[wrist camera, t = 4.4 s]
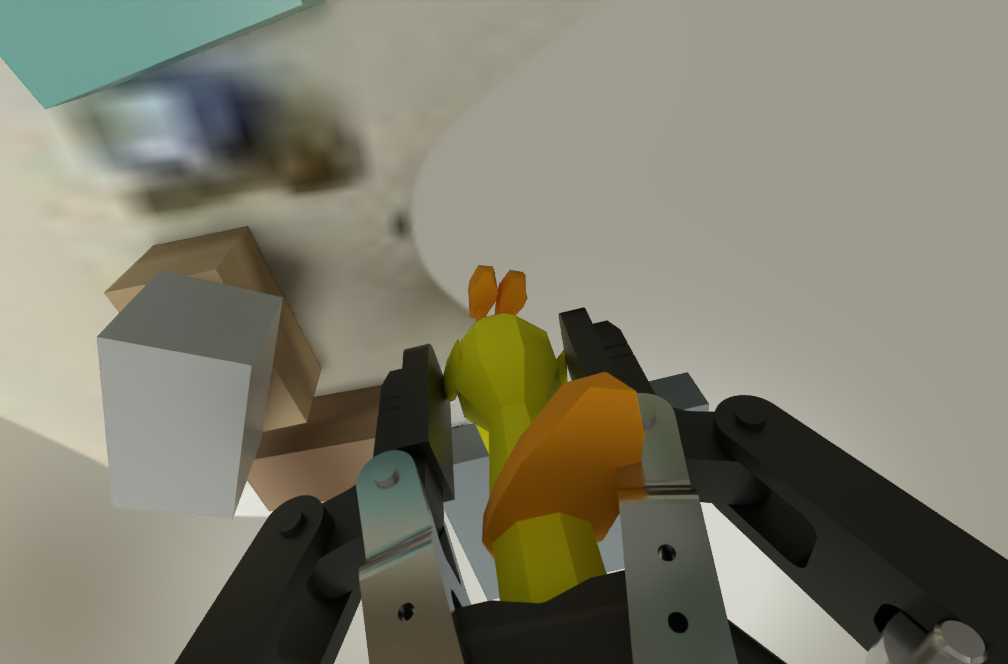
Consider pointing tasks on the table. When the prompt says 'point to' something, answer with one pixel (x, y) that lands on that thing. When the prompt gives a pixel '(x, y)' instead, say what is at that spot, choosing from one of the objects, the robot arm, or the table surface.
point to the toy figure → (540, 444)
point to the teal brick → (118, 38)
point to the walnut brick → (318, 449)
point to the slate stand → (475, 487)
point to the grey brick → (186, 393)
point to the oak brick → (244, 267)
